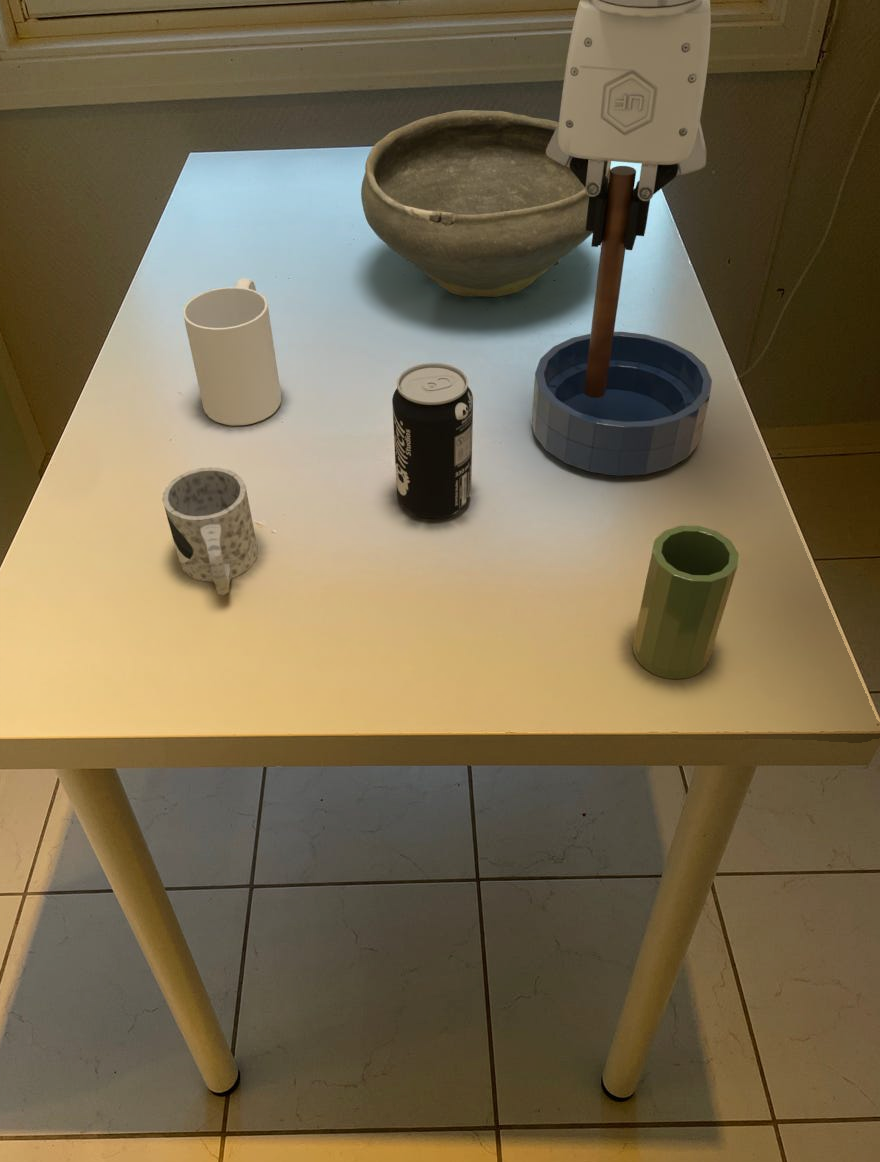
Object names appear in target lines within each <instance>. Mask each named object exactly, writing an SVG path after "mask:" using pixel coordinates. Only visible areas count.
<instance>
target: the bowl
mask: <svg viewBox="0 0 880 1162" xmlns="http://www.w3.org/2000/svg"><path fill="white" fill-rule="evenodd" d="M558 124H559V121H554V120H551V119H546V118H537V117H532V116H528V115H525V114H518V113H513V112H508V111H502V110H475V109H474V110H472V109H471V110H470V109H469V110H466V109H465V110H463V109H461V110H453V111H448V112H443V113H439V114H435V115H430V116H426V117H423V118H420V119H417V120H415V121H412V122H410V123H408V124H406V125H403V126H401V127H399V128H396V129H395V130H392V131H390V132H388V133H387V135H385V136H384V137H383V138H382V139H380V140H379V141H378V142H376V143H375V144H374V145H373V147H372V148H371V150H370V151H369V152H368V156H367V158H366V161H365V164H364V170H365V172H364V175H363V178H362V182H361V189H360V190H361V191H360V198H361V205H362V209H363V210H362V211H363V214H364V217H365V220H366V222H367V224H368V226H369V227H370V229H371V230H372V231H373V232H374V234H375V235H376V236H377V237H378V239H380V240H381V241H382V242H383V243H384V244H385V245H387V247H388V248H390V249H391V250H392V251H394V252H395V253H396V254H397V255H399V256H400V257H402V258H403V259H404V260H405V261H407V262H408V263H410V264H411V265H413V266H414V267H417V268H418V269H419V270H421V271H422V272H423V273H424V274H425V275H426V276H428V277H429V278H430V279H431V280H433V281H434V282H435V283H437V284H438V285H439V286H441V287H442V288H443V289H444V290H445V291H447V292H448V293H451V294H453V295H457V296H460V297H488V298H496V297H504V296H509V295H513V294H516V293H519V292H521V291H522V290H525V289H526V288H527V287H529V286H530V285H532V284H533V282H535V281H536V280H537V279H538V278H539V277H540V276H542V275H543V274H544V273H546V272H547V271H548V270H549V269H551V268H552V267H553V266H554V265H556V264H557V263H558V262H559V261H560V260H562V259H563V258H564V257H566V256H567V255H569V254H570V253H572V251H574V250H575V249H576V248H578V246H580V245H581V244H582V243H584V242H585V241H586V240H587V239H588V238H589V237H590V236H592V235H593V231H586V221H587V212H588V203H589V195H588V194H587V193H586V190H585V187H584V185H583V184H582V183H581V182H580V180H579V179H578V178H577V177H576V176H575V174H574V173H573V172H572V171H571V169H570V168H569V167H567V166H564V165H562V164H560V163H558V162H557V161H555V160H553V159H551V158H549V157H548V156H547V154H546V148H547V146H548V144H549V142H550V140H551V138H552V136H553V134H554V132H555V130H556V128H557V126H558ZM611 166H612V161H608V163H607V172H606V177H607V178H608V183H609V177H610V170H611V169H612V168H611Z"/></svg>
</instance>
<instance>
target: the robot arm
mask: <svg viewBox="0 0 880 1162" xmlns="http://www.w3.org/2000/svg"><path fill="white" fill-rule="evenodd" d="M711 15H712V14H711V0H579V2H578V5H577V9H576V13H575V17H574V20H573V25H572V29H571V30H572V31H571V33H570V38H569V45H568V51H567V57H566V64H565V70H564V75H563V86H562V91H561V100H560V107H559V108H560V110H559V118H558V119H559V120H558V123H559V124H558V126H557V128H556V130H555V132H554V134H553V136H552V138H551V140H550V142H549V144H548V146H547V148H546V154H547V156H548V157H549V158H551V159H553V160H555V161H557V162H558V163H560V164H562V165H564V166H567V167H569V168H570V169H571V171H572V172H573V173H574V174H575V176H576V177H577V178H578V179H579V180H580V182H581V183H582V184H583V185H584V187H585V190H586V193H587V194H588V195H589V203H588V212H587V221H586V231H593V233H592V235H591V236H592V237H591V247H593V248H598V247H599V246H600V247H601V244H602V239H603V230H604V222H605V214H606V206H607V197H608V185H609V183H608V178H607V177H606V172H607V163H608V161H611V162H617V163H628V164H629V163H630V164H641V167H640V173H639V180H638V181H637V182H636V185H635V187H634V191H633V196H632V197H631V200H630V204H629V211H628V218H627V226H626V233H625V240H624V248H626V249H625V251H633V249H634V247H635V246H634V245H635V242H636V239H637V237H644V236H645V234H646V230H647V229H646V228H647V224H648V216H649V210H650V203H651V199H652V198H653V196H654V195H655V194H657V193H658V192H659V191H660V190H662V189H663V188H664V187H665V186H666V185H668V184H669V183H670V182H671V181H673V180H674V179H675V178H676V177H679V176H681V177H682V176H684V175H688V174H691V173H694V172H697V171H700V170H702V169H704V168H705V167H706V165H707V161H708V152H707V151H708V150H707V147H706V146H707V145H706V143H705V138H704V133H703V128H702V124H701V117H702V110H703V105H704V104H703V103H704V98H705V97H704V96H705V89H706V82H707V76H708V67H709V66H708V65H709V56H710V47H711V46H710V45H711V26H712V24H711V23H712V16H711Z"/></svg>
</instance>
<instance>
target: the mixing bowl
mask: <svg viewBox="0 0 880 1162" xmlns="http://www.w3.org/2000/svg"><path fill="white" fill-rule="evenodd" d="M590 336H591V333H586V334H582V335H578V336H573V337H571V338H569V339H567V340H564V341H562V342H560V343H558V344H556V345H554V346H552V347H551V348H550V349H549V350H548V351H547V352H546V353H544V355H543V356H542V357H540V359H539V362H538V365H537V367H536V370H535V372H534V383H533V384H534V385H533V397H532V398H533V399H532V411H531V424H532V430H533V435H534V437H535V438H536V440H537V441H538V443H540V444H541V446H542V447H543V448H544V450H545V451H547V452H548V453H550V454H551V455H553V456H554V457H556V458H558V459H559V460H560V461H561V462H563V463H565V464H567V465H569V466H573V467H575V468H578V469H580V470H584V471H587V472H590V473H596V474H602V475H608V476H609V475H610V476H619V477H620V476H639V475H640V476H641V475H648V474H652V473H656V472H659V471H664V470H667V469H670V468H672V467H673V466H675V465H677V464H679V463H680V462H682V461H684V460H685V459H687V458H689V456H690V455H691V454H692V453H693V452H694V450H695V448H696V447H697V446H698V445H699V443H700V440H701V435H702V432H703V427H704V424H705V423H704V422H705V419H706V415H707V410H708V406H709V401H710V397H711V392H712V385H713V384H712V383H713V380H712V376H711V375H710V373H709V370H708V368H707V365H706V363H704V362H703V361H702V360H701V359H700V358H699V357H698V356H696V355H695V354H694V353H693V351H690V350H688V349H686V348H684V347H682V346H681V345H678V344H676V343H675V342H672V341H670V340H667V339H663V338H660V337H656V336H653V335H649V334H646V333H639V332H638V333H637V332H628V331H614V335H613V343H612V350H611V357H610V364H609V371H608V379H607V386H606V393H605V395H604V396H603V397H600V398H591V397H588V396H586V395H585V393H584V386H585V378H586V369H587V361H588V353H589V344H590Z"/></svg>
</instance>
